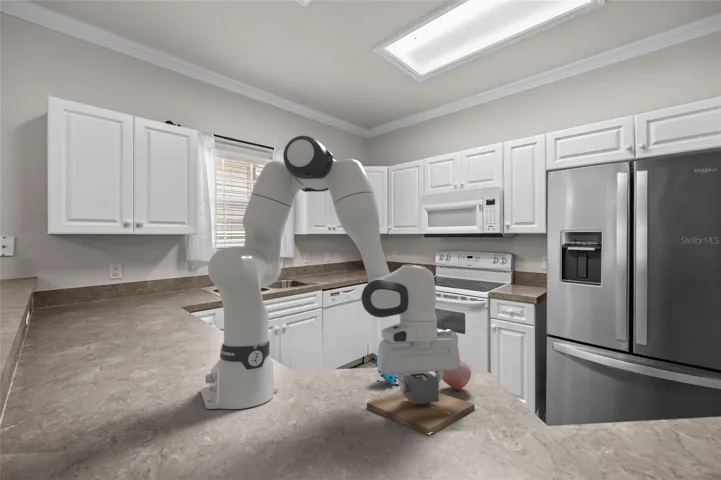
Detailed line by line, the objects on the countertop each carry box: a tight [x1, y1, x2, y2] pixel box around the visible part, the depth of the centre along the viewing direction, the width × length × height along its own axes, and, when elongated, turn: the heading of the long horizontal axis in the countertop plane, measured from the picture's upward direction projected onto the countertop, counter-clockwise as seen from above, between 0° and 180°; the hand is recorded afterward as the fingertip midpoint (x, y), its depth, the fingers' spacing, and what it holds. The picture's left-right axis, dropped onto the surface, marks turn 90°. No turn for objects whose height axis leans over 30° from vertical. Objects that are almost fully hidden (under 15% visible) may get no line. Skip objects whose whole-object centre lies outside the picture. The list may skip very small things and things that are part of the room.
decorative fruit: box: [441, 355, 472, 391], centre depth 89 cm, size 9×8×10 cm
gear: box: [374, 356, 397, 384], centre depth 96 cm, size 11×6×10 cm
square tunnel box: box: [402, 371, 440, 404], centre depth 77 cm, size 6×6×5 cm
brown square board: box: [366, 376, 475, 434], centre depth 76 cm, size 18×18×7 cm
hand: (419, 390), depth 77 cm, fingers closed on square tunnel box, 6 cm apart
